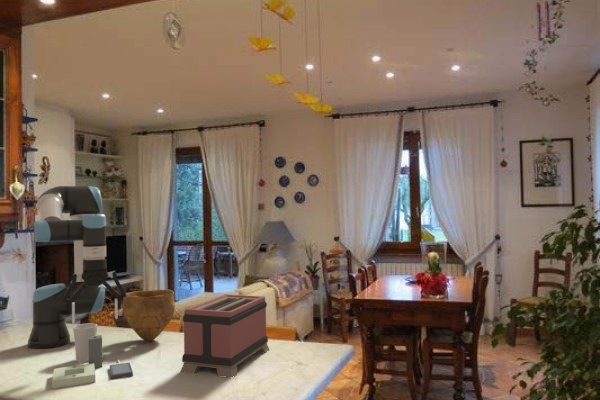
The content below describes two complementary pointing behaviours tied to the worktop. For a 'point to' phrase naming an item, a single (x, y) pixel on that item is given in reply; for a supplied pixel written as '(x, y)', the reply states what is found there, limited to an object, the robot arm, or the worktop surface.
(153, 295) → the bowl
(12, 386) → the worktop surface
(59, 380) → the outlet plate
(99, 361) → the block
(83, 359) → the cup
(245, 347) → the toaster
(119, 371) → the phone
